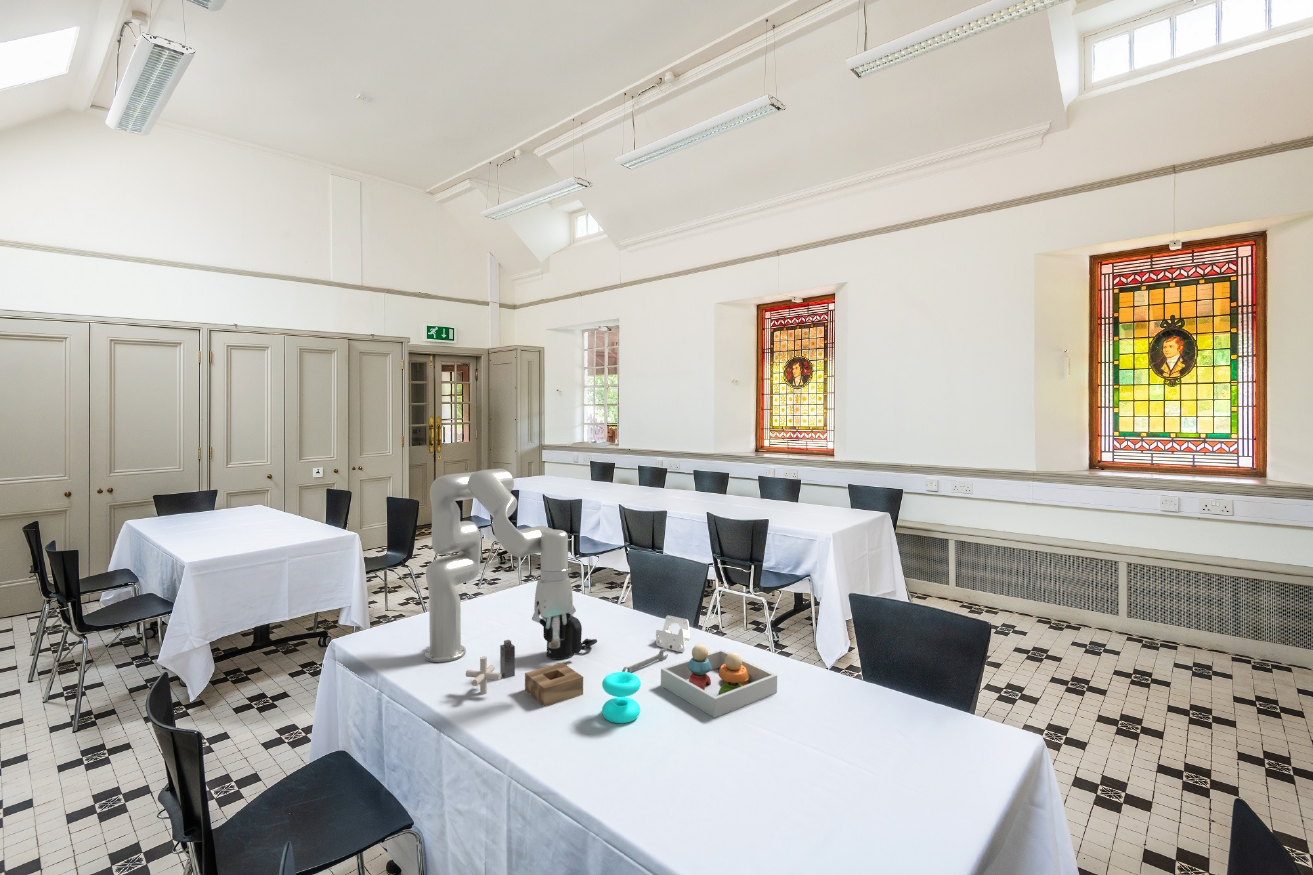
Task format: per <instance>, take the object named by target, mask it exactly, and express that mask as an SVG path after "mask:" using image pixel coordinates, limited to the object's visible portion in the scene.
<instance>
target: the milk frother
mask: <svg viewBox="0 0 1313 875" xmlns="http://www.w3.org/2000/svg"><path fill="white" fill-rule="evenodd" d="M582 632H583V627H582V623H581V622H580V619H578V617H575V616H574V614H572V615H571V616H570V618H569V619H568V620H567V623H566V624H565V634H564V639H560V647H559V648H556V649H551V648H549V642H548V641H546V653H545V655H546V657H547V658H549V659H551V660H564V659H570V658H571V657H573V656H574V655H575V654H579V653H580V652H581V650H584V649H586V648H589V647H592V646H593V645H595V644H597V643H598V639H596V638H593V639H591V638H585V639H584V640H582V636H583V633H582Z"/></svg>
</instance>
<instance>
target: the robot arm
mask: <svg viewBox="0 0 1313 875" xmlns="http://www.w3.org/2000/svg"><path fill="white" fill-rule="evenodd" d="M514 486H515V479H514V477H513V475H512V474H511V472H510V471H508V470H507V469H505V468H492V469H481V470H478V471H472V472H471V471H469V472H460V473H452V474H451V473H449V474H445V475H441V476H438V477H437V478H436V479H434V480H433V482H432V484H431V486H430V489H429V500H430V505H431V511H432V514H431V515H432V516H431V517H432V518H431V548H432V550H433V552H434V553H436V554H438V555H449V554H454V553H458V554H454V555H449V556H444V557H441V558H438V559H435V560H433V561H432V562H430V563H429V564H428V565H427V567H426V569H425V580H426V584H427V589H428V601H429V603H428V604H429V605H428V606H429V608H428V609H429V611H428V612H429V648H428V649H426V650H425V652H424V659H425V660H427V661H429V662H433V663H444V662H445V663H446V662H451V661H455V660H458V659H460V658H462V657H464V655H465V654H466V652H467V649H466V647H465V646H464V645H462V643H461V638H462V637H461V634H462V633H461V628H462V627H461V625H462V624H461V623H462V621H461V620H462V618H461V616H462V615H461V614H462V613H461V611H462V610H461V597H460V595H459V593H458V592H457V590H456V589H455V586H458V585H461V584H464V583H469V582H471V581H473V580H475V579H476V578H477V577H478V575H479V572H480V569H481V568H480V565H481V545H482V544H481V543H482V542H481V538H482V536H481V532H480V529H479V527H478V525H477V524H476V523H475V522H473V521H471V520H462V521H461V509H460V507H459V505H458V503H457V502H456V501H465V500H472V499H475V500H476V501H478V502H479V503H480V504H481V506H482V507H483V508H484V509H485V510H486V511H487V512H488V513H489V514H490V516H491V517H492V529H493V535H494V536H495V539H496V540H497V542H498V543H499V544H500V545H501V546H502V547H503V549H504V550H505V551H507V553H508V554H510V555H511V556H512V557H515V558H525V557H528V556H530V555H534V554H539V553H540V579H538V580H537V584H536V588H535V593H534V604H533V605H534V607H533V608H534V612H533V615H532V616H531V617H532V618H531V620H532V621H533V622H535V623H538V624H540V625H541V626H542V627H543V638H544V640H545V641H546V642H547V641H548V642H551V641H552V628H550V622H551V617H553V616H558V615H560V639H564V634H565V624H566V623H567V620H568V619H569V618H570V616H571V615H572V614H573V615H575V613H576V611H577V610H576V608H575V606H574V602H573V601H574V599H573V597H574V596H573V589H572V583H571V579H570V577H569V574H570V573H572V568H571V567H569V563H568V562H569V538H568V537H569V536H568V532H566V531H565V530H562V529H553V528H551V527H548V526H546V525H545V526H544V525H537V526H531V527H526V528H522V529H518V528H517V527H515V525H514V524H513V523H512V522H511V521H510V520H509V518H510V517H511V515H513V513H514V512H515V511H516V510H517V506H518V500H517V498H516V497H515V496H514V495H513V494H512V493H511V492H512V491H513V489H514Z"/></svg>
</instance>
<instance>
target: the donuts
mask: <svg viewBox="0 0 1313 875" xmlns="http://www.w3.org/2000/svg"><path fill="white" fill-rule="evenodd" d="M601 685H602V689H603V692H604V691H605V693H606V694H607V695H610V696H612V698H610V699H608V700H607V701H605V702H604V704H603V706H602V709H601V714H602V715H603V718H605V719H606V721H609V722H611V723H615V724H626V723H631V722H633V721H635V720H636V719H637V718H638V717H639V715H640V714H641V706H640V705H639V703H638V701H636V700H635V699H633V698H631V697H630V696H632V695H634V694H636V693H637V692H638V691H639V689H640V688H641V679H640V678H639V677H638V675H636V674H634V673H632V672H630V673H629V672H627V671H625V672H622V671H615V672H612V673H609V674H608V675H606V676H605V677H604V678H603V680H602V683H601Z"/></svg>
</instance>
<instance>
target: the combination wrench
mask: <svg viewBox="0 0 1313 875" xmlns="http://www.w3.org/2000/svg"><path fill="white" fill-rule="evenodd" d="M666 651H667V648H662V649H660V650H659V652H658V653H657V654H656V655H653V656H651V657H649V658H646V659H644V660H642V661H639V662H637V663H635V664H632V665H629V666H624V667H623V668H622V671H621V672H629V673H632V672H634V671H636V670H638V669H640V668H643V667H645V666H647V665H650V664H652V663H654V662H656V661H658V660H659V661H665V660H666V659H667V658H668V656H669V654H668V653H666V654H665V655H664V653H665V652H666ZM626 670H627V671H626Z"/></svg>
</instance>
